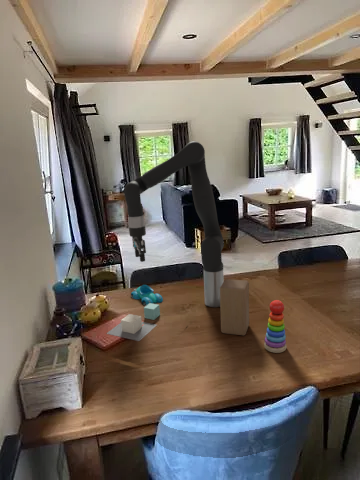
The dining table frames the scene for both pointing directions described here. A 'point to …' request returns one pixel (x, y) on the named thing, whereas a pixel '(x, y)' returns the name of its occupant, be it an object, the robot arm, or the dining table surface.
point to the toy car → (146, 295)
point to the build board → (137, 336)
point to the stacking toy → (276, 329)
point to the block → (234, 306)
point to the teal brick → (151, 311)
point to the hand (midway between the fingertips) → (140, 259)
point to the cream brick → (131, 323)
